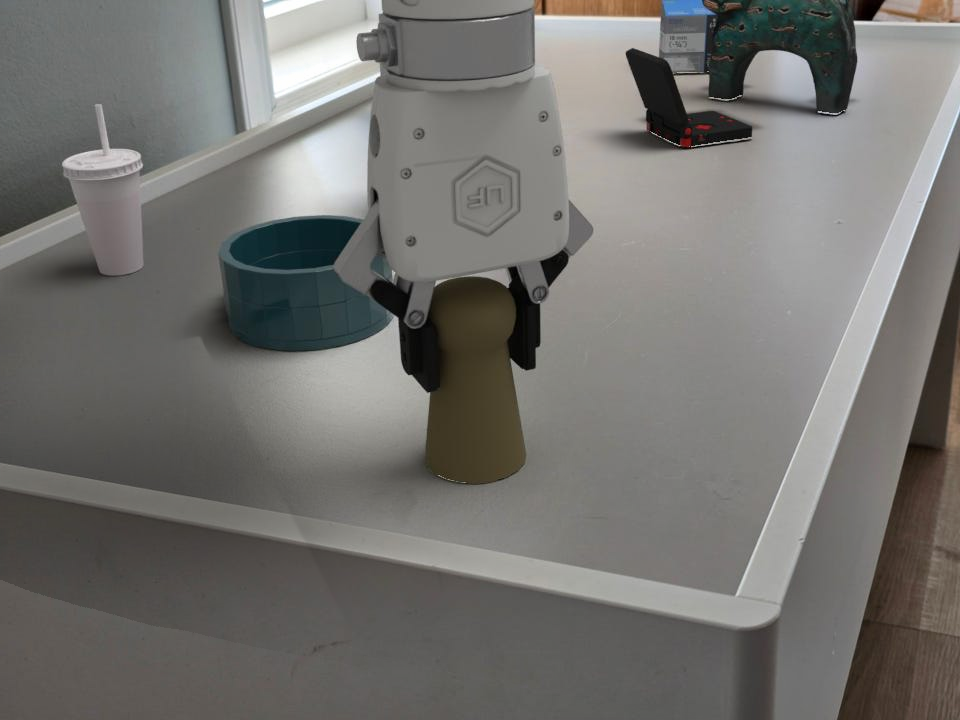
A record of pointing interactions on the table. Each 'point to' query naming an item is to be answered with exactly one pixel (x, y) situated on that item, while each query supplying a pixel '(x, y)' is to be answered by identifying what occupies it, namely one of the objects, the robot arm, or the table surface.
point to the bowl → (297, 285)
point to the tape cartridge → (686, 35)
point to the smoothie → (109, 203)
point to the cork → (474, 384)
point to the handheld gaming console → (677, 106)
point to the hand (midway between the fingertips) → (472, 368)
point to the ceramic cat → (785, 44)
